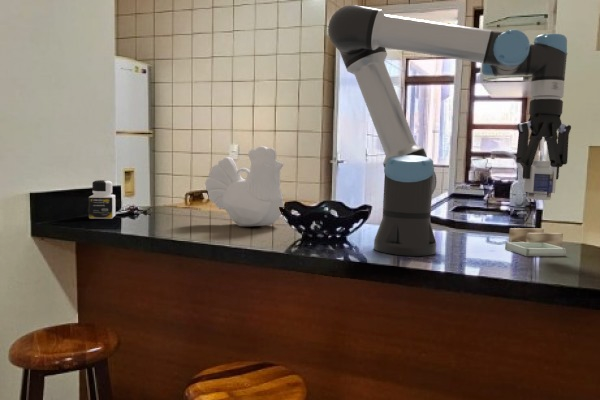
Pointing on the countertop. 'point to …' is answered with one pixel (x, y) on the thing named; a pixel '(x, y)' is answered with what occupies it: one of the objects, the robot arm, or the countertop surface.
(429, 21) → the robot arm
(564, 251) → the tray
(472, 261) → the countertop surface
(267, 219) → the decorative rooster
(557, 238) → the clevis block
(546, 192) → the pill bottle
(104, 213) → the medicine bottle
